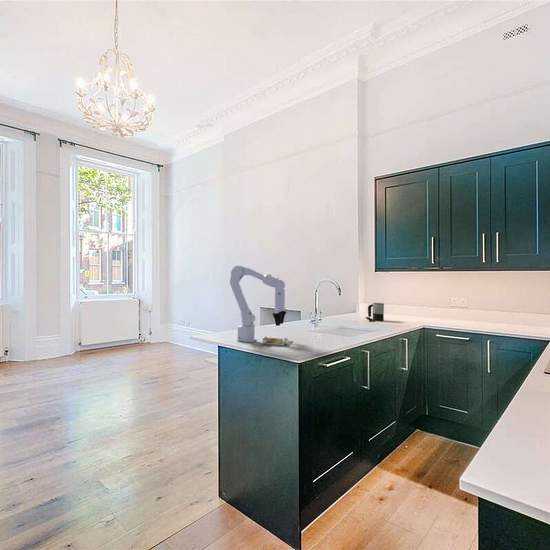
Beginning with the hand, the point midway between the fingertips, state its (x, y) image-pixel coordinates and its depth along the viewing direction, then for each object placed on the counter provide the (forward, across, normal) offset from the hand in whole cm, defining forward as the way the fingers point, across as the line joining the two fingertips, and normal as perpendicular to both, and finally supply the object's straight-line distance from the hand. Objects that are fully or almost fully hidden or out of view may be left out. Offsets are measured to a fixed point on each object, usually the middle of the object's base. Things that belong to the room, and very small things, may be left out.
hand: (279, 324), depth 204 cm
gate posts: (+10, -11, 0) cm, 15 cm away
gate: (+9, -9, +1) cm, 13 cm away
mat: (+10, -5, 0) cm, 11 cm away
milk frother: (+10, +111, -55) cm, 125 cm away
